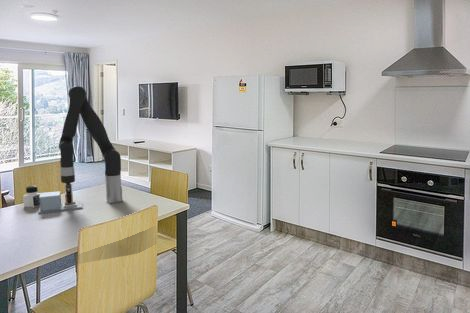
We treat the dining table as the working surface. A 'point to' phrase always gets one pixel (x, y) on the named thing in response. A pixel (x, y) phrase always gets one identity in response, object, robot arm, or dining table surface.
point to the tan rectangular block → (66, 197)
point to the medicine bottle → (31, 197)
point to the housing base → (65, 207)
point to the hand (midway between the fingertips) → (69, 202)
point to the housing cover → (50, 201)
